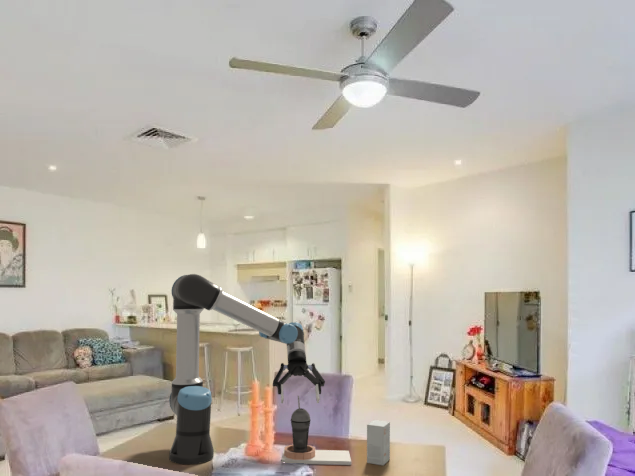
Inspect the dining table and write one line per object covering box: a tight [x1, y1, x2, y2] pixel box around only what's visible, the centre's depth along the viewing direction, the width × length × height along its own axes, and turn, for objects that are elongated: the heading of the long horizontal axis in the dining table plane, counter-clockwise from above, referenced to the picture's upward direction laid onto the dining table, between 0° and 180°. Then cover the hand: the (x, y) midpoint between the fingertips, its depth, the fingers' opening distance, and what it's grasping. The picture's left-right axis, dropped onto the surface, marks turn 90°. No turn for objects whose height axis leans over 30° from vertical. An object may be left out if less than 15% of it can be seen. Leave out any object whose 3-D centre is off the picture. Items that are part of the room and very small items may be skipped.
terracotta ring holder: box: [283, 444, 316, 460], centre depth 173 cm, size 11×11×2 cm
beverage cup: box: [290, 395, 311, 453], centre depth 175 cm, size 7×7×20 cm
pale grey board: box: [281, 449, 352, 466], centre depth 173 cm, size 24×12×1 cm, turn 90°
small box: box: [366, 419, 391, 466], centre depth 173 cm, size 8×6×13 cm
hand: (300, 401), depth 182 cm, fingers open, 13 cm apart
